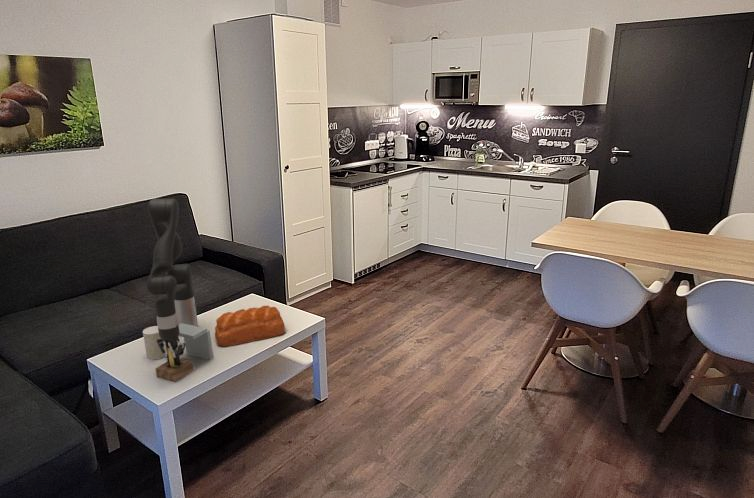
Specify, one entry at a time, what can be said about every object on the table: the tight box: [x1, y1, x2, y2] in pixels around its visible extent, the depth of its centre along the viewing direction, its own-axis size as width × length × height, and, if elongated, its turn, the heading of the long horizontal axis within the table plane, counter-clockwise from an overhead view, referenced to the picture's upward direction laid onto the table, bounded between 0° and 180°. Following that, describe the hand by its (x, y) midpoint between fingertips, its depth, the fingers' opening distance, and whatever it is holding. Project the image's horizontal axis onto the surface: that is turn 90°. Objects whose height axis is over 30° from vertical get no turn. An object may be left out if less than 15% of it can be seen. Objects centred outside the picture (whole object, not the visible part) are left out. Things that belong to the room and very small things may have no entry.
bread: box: [214, 305, 286, 347], centre depth 234 cm, size 16×31×13 cm, turn 114°
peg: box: [167, 348, 178, 369], centre depth 201 cm, size 3×3×10 cm
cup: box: [142, 325, 167, 361], centre depth 217 cm, size 8×8×12 cm
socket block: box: [155, 357, 195, 383], centre depth 203 cm, size 10×10×4 cm
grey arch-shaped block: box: [176, 323, 214, 361], centre depth 212 cm, size 14×9×14 cm, turn 64°
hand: (174, 363), depth 202 cm, fingers closed on peg, 3 cm apart
